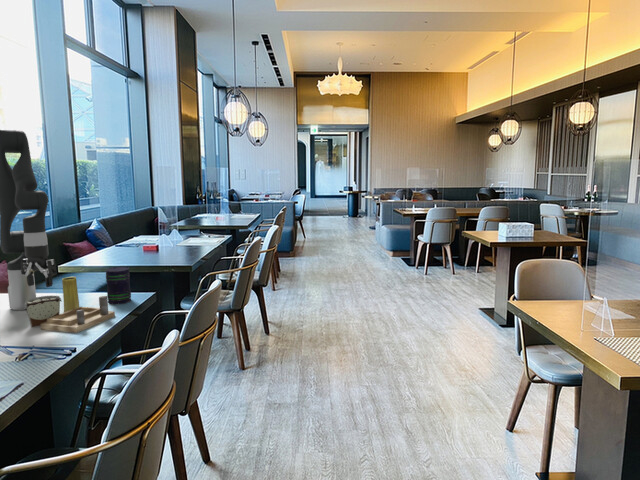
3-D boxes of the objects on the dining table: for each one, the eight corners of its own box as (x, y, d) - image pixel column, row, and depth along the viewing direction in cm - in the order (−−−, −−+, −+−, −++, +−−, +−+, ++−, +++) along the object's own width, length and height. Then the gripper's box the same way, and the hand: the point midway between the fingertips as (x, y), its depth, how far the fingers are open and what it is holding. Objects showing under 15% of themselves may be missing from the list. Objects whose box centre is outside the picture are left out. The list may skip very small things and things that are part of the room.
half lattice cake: (58, 317, 181) (56, 293, 179) (63, 321, 176) (61, 296, 175) (22, 325, 172) (20, 299, 171) (26, 328, 168) (24, 302, 166)
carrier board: (40, 329, 167) (38, 305, 166) (82, 313, 186) (80, 292, 185) (76, 332, 163) (74, 308, 162) (114, 316, 182) (113, 294, 181)
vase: (83, 309, 192) (80, 276, 189) (74, 314, 185) (71, 280, 183) (69, 309, 192) (67, 276, 190) (60, 313, 186) (57, 279, 184)
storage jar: (135, 301, 204) (133, 268, 202) (113, 305, 197) (111, 272, 195) (125, 297, 211) (123, 265, 208) (103, 301, 203) (101, 269, 201)
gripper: (12, 245, 168) (16, 287, 170) (42, 245, 164) (47, 289, 167) (29, 242, 175) (33, 283, 177) (59, 243, 172) (63, 284, 174)
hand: (40, 286), depth 172 cm, fingers open, 8 cm apart
